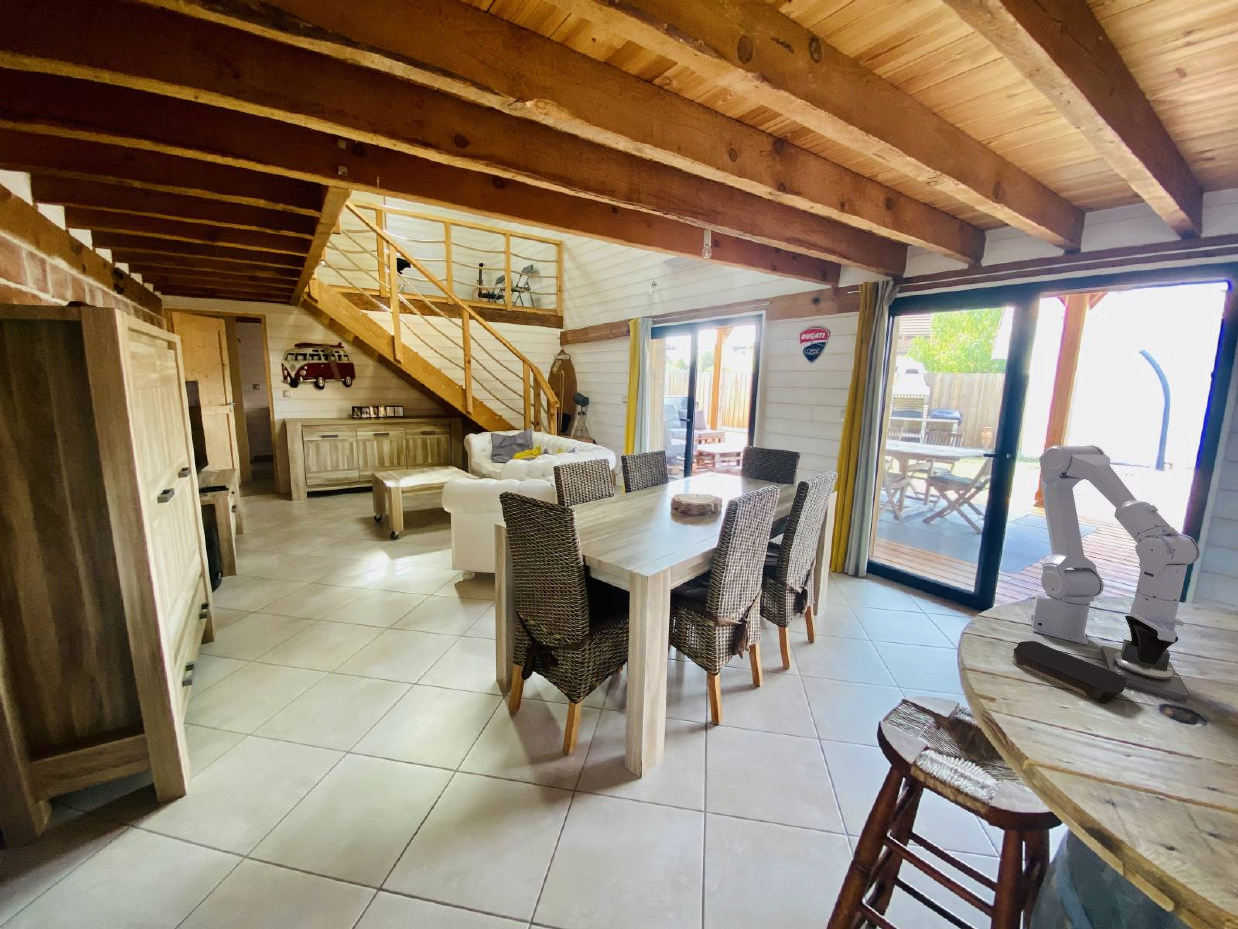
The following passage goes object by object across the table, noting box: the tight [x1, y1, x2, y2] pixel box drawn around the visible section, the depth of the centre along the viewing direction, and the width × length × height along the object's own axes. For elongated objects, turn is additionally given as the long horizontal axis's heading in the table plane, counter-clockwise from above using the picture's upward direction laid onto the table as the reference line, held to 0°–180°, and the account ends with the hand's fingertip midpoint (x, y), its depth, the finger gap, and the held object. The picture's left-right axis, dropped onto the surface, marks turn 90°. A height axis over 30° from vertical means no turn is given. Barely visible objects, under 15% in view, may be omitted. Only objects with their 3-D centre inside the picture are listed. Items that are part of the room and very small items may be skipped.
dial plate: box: [1100, 644, 1190, 704], centre depth 96 cm, size 10×14×2 cm
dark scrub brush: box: [1011, 640, 1127, 704], centre depth 95 cm, size 16×8×4 cm, turn 26°
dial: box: [1114, 638, 1173, 679], centre depth 96 cm, size 8×8×4 cm
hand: (1143, 658), depth 96 cm, fingers closed on dial, 3 cm apart
